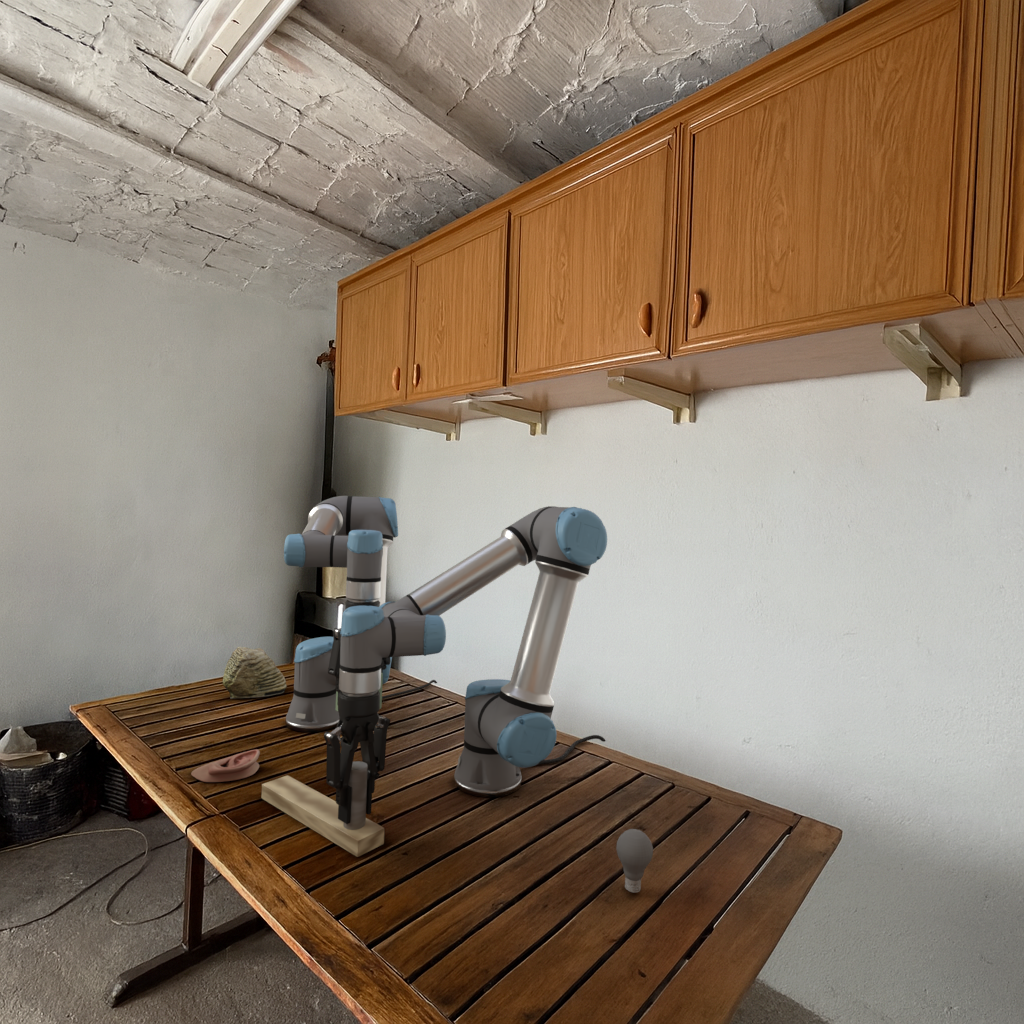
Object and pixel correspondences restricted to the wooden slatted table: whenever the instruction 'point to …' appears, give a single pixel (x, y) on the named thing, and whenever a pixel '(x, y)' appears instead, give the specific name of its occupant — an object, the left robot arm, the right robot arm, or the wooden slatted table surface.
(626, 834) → the light bulb
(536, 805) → the wooden slatted table surface
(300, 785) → the birch board
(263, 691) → the fossil
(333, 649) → the left robot arm
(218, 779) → the anatomical model
